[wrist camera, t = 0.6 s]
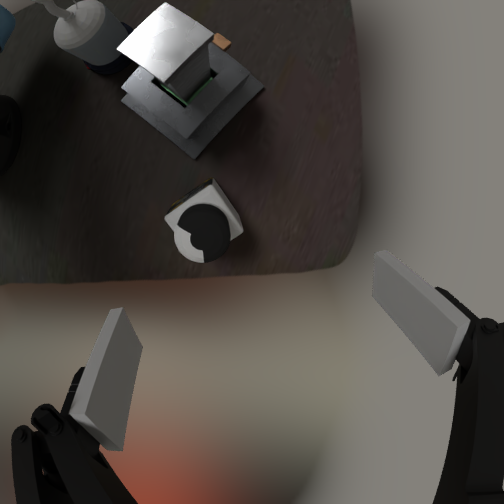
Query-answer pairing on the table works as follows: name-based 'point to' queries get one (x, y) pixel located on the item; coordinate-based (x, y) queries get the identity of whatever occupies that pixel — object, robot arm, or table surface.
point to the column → (172, 51)
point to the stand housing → (194, 100)
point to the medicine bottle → (204, 223)
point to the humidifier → (91, 34)
